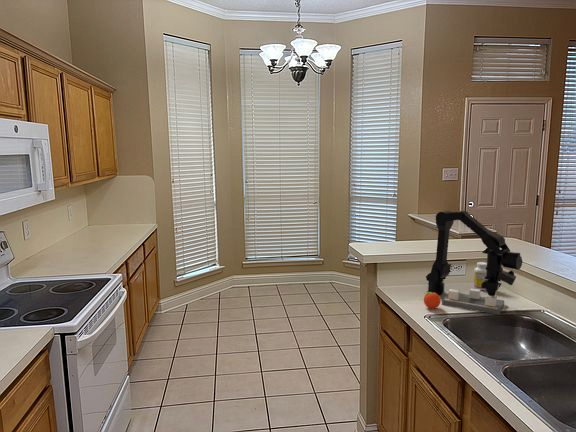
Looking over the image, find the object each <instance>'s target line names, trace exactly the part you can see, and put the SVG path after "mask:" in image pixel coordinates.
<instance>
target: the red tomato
mask: <svg viewBox="0 0 576 432" xmlns="http://www.w3.org/2000/svg"><path fill="white" fill-rule="evenodd" d="M423 295H424V296H422V295H421V298H422V297H423V302H424V303H423V304H424V305H425V307H427V308H429V309H431V310H432V309H437V308H438V307H439V306H440V304H441V298H440V295H438V294H436V293H434V292H427V291H426V292H425V293H424V292H423Z"/></svg>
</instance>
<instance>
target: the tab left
mask: <svg viewBox="0 0 576 432" xmlns="http://www.w3.org/2000/svg"><path fill="white" fill-rule="evenodd" d="M448 293H449V295H448V299H454V300H458V299H459V295H460V293H461V291H460V290H458V289H453V288H450V289H449V290H448Z"/></svg>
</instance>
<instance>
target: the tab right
mask: <svg viewBox="0 0 576 432" xmlns="http://www.w3.org/2000/svg"><path fill="white" fill-rule="evenodd" d="M484 297H485V305H488V306H494V307H495V306H496V301H497V297H498V296H496V295H495V296H490V295H488V294H486V295H485V296H484Z"/></svg>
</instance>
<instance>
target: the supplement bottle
mask: <svg viewBox="0 0 576 432" xmlns="http://www.w3.org/2000/svg"><path fill="white" fill-rule="evenodd" d="M476 266H477V267H474V272H473V273H474V277H473V289H479V290H481V291H487V290H486V289H484V288H481V283H482V282H483V281H484V280H488V279H485V276H486V266H487V262H483V261H481V262H480V261H479V262H477V263H476Z"/></svg>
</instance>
